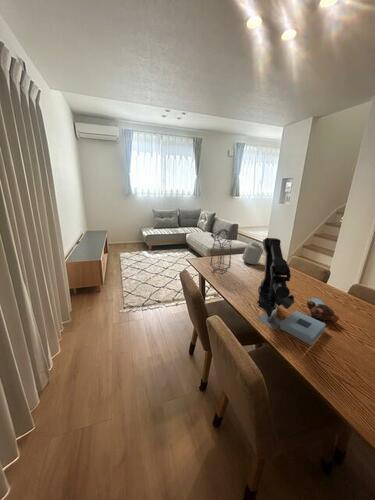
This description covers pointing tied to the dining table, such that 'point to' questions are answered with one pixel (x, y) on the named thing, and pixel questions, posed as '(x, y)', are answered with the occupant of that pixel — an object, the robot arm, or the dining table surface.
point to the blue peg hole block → (303, 327)
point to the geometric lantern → (222, 248)
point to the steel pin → (272, 315)
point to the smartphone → (317, 301)
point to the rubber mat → (272, 325)
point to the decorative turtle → (321, 312)
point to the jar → (252, 253)
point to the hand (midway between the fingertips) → (271, 315)
